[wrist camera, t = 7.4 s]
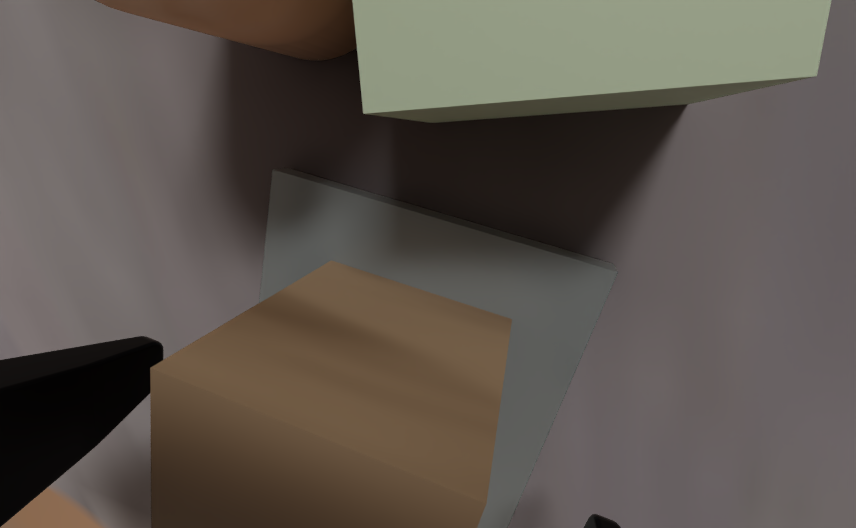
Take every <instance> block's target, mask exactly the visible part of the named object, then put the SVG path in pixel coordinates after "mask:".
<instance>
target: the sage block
mask: <svg viewBox="0 0 856 528" xmlns="http://www.w3.org/2000/svg"><path fill="white" fill-rule="evenodd" d="M352 2H353V12H354V23H355V33H356V43H357V54H358V64H359V74H360V85H361V95H362V105H363V114H369V115H376V116H384V117H391V118H399V119H406V120H413V121H421V122H428V123H440V122H453V121H467V120H481V119H494V118H508V117H521V116H535V115H549V114H562V113H576V112H590V111H603V110H617V109H631V108H644V107H658V106H671V105H685V104H691V103H696V102H701V101H705V100H710V99H714V98H719V97H723V96H728V95H733V94H737V93H742V92H746V91H751V90H755V89H760V88H765V87H769V86H774V85H778V84H783V83H788V82H792V81H797V80H801V79H806V78H810V77H815V76H817V72H818V67H819V61H820V56H821V51H822V46H823V41H824V36H825V31H826V25H827V20H828V15H829V10H830V5H831V0H352Z"/></svg>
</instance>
